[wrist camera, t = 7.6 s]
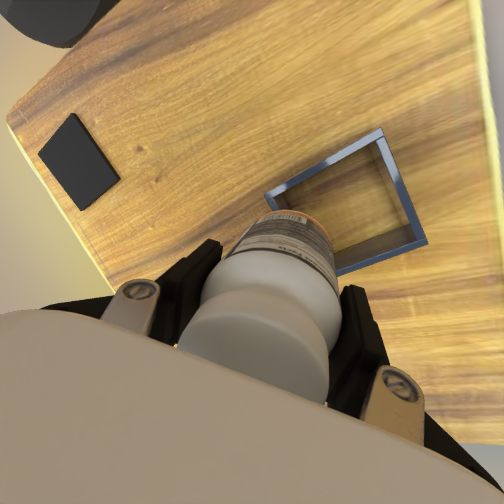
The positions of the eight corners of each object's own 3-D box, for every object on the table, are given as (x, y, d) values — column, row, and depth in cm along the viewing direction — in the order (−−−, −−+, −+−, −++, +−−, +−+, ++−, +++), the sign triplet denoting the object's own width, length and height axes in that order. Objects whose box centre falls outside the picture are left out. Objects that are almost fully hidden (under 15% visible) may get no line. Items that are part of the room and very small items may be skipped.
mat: (41, 153, 38) (37, 153, 37) (75, 113, 33) (71, 112, 33) (83, 210, 40) (80, 211, 39) (120, 179, 36) (117, 179, 35)
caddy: (271, 187, 30) (263, 194, 26) (371, 129, 26) (381, 126, 21) (315, 266, 33) (313, 285, 29) (412, 228, 28) (429, 244, 24)
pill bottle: (294, 301, 17) (267, 463, 9) (229, 253, 17) (134, 370, 8) (353, 245, 15) (401, 396, 6) (278, 187, 14) (213, 256, 6)
